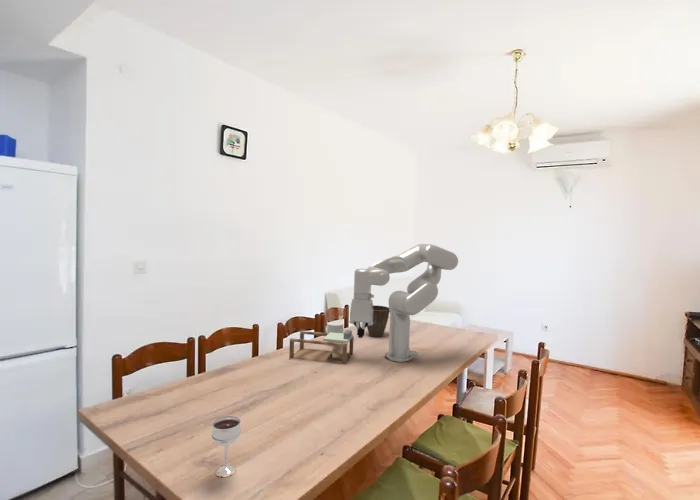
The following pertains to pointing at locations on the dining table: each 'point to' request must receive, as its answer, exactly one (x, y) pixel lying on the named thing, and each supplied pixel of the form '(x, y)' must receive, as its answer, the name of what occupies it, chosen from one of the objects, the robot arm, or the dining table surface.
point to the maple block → (337, 352)
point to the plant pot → (378, 321)
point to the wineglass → (226, 436)
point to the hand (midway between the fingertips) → (360, 337)
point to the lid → (339, 337)
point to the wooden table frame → (319, 354)
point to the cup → (334, 328)
